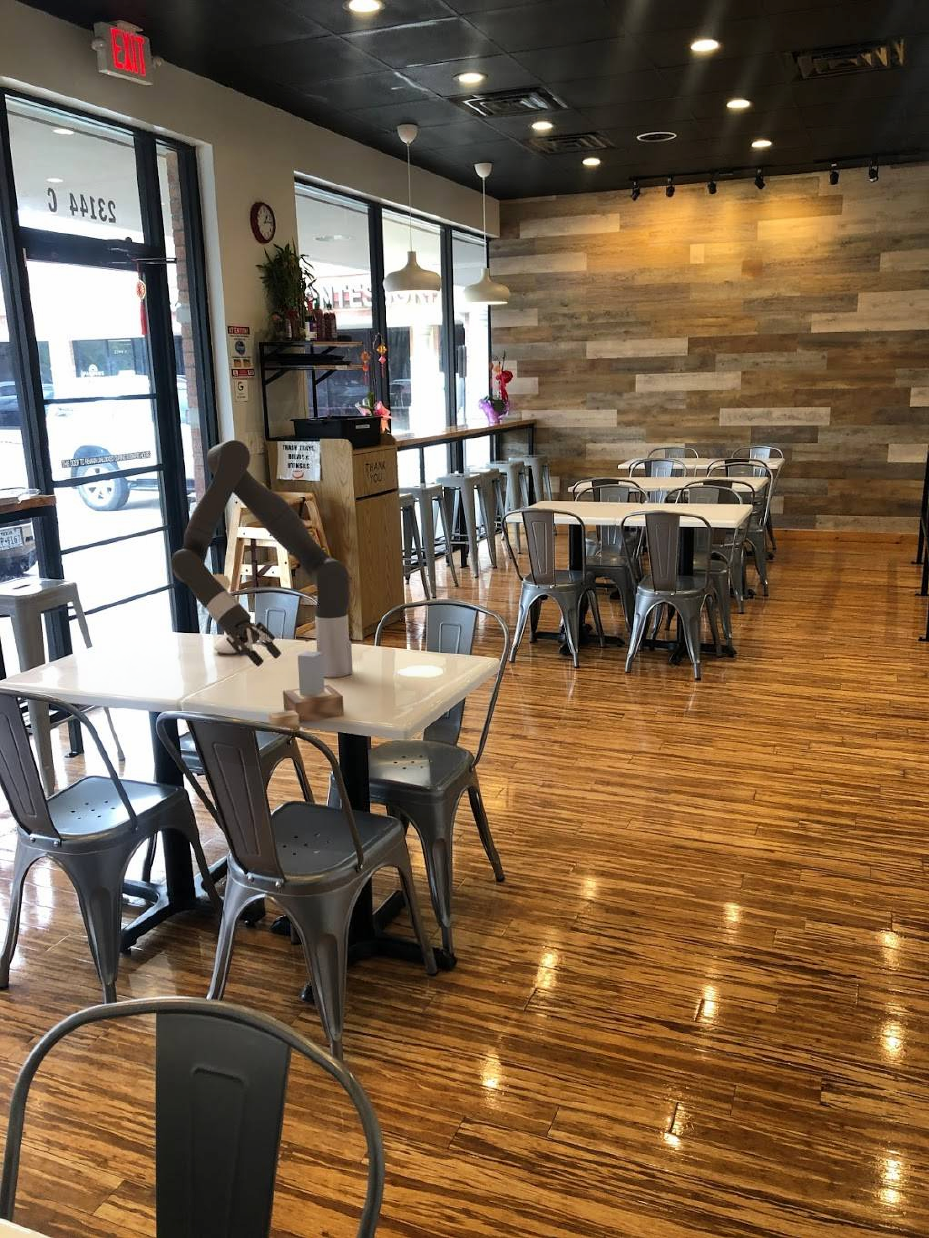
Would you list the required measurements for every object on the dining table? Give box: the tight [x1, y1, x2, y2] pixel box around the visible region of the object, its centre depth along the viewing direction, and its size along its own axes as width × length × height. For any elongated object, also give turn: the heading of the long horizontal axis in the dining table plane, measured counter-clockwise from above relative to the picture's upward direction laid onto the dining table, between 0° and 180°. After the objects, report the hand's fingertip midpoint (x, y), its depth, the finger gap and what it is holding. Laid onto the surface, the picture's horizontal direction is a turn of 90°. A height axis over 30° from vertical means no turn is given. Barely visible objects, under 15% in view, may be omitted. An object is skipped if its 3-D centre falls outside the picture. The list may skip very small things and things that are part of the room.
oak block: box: [268, 710, 300, 735], centre depth 250 cm, size 6×4×4 cm, turn 116°
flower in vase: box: [212, 573, 241, 654], centre depth 327 cm, size 13×11×25 cm
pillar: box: [297, 651, 325, 696], centre depth 261 cm, size 4×4×10 cm
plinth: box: [282, 684, 345, 723], centre depth 263 cm, size 12×12×5 cm
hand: (270, 660), depth 265 cm, fingers open, 8 cm apart
